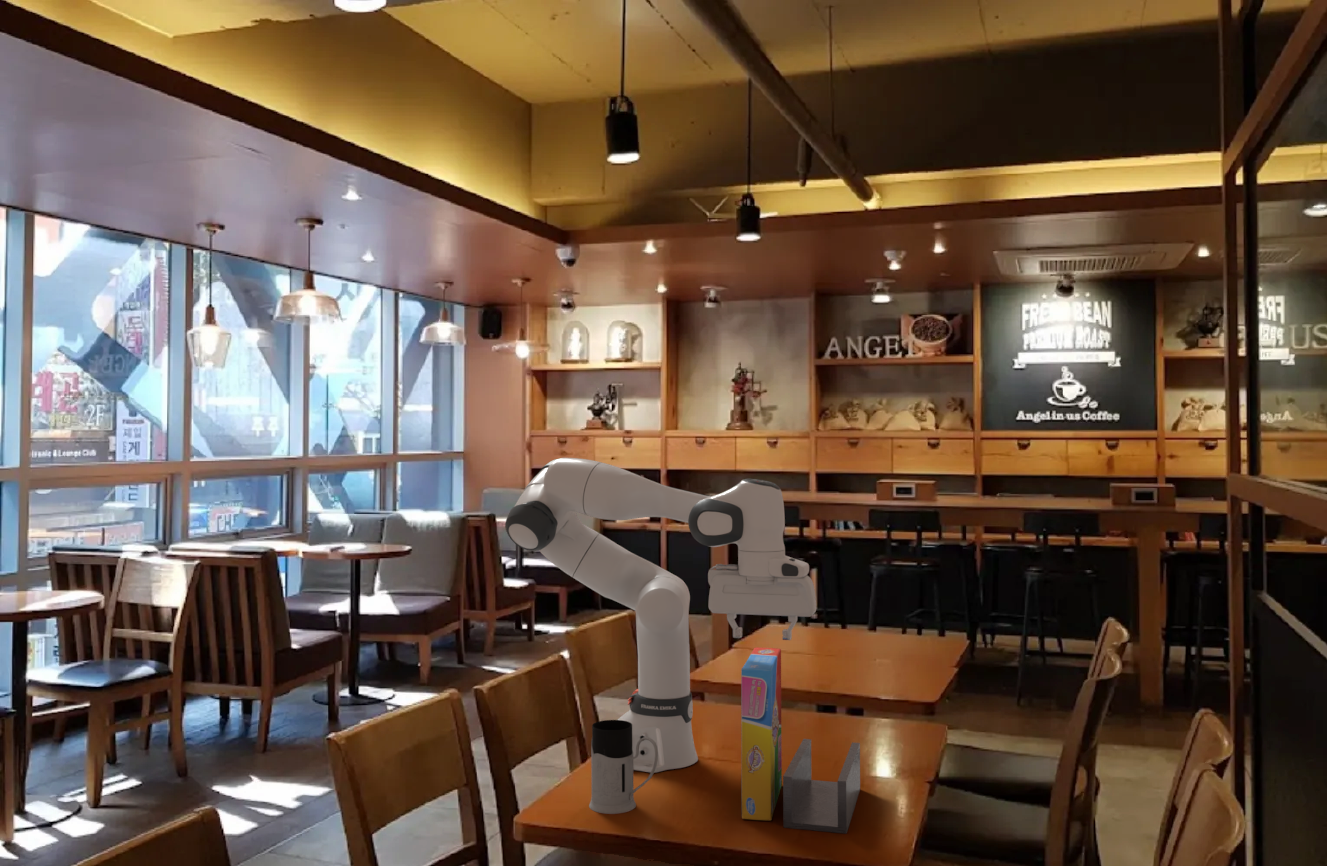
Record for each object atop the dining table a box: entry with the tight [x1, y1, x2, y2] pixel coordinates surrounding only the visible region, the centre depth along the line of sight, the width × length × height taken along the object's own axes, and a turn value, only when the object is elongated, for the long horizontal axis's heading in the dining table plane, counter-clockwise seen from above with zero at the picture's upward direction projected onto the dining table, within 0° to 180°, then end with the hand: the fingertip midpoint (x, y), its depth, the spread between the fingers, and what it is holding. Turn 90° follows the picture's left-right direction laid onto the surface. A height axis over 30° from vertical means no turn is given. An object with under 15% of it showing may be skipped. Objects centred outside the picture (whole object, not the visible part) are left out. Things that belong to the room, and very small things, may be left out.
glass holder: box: [588, 719, 658, 815], centre depth 195 cm, size 9×14×15 cm, turn 59°
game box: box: [740, 647, 783, 822], centre depth 198 cm, size 21×6×27 cm, turn 168°
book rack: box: [782, 738, 861, 834], centre depth 195 cm, size 11×24×9 cm, turn 164°
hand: (762, 638), depth 199 cm, fingers open, 8 cm apart
